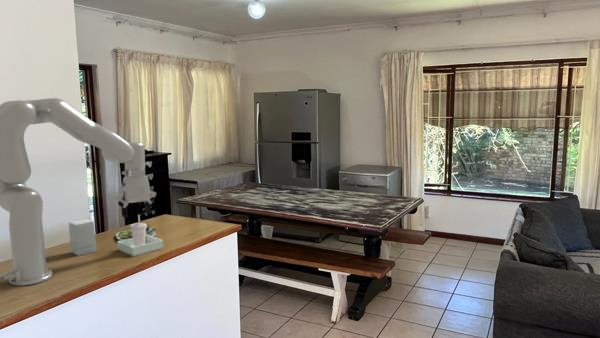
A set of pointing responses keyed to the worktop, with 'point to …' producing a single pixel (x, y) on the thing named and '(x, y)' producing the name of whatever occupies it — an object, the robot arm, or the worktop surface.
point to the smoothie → (138, 232)
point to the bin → (149, 246)
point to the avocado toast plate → (129, 233)
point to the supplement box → (82, 237)
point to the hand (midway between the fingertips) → (136, 215)
